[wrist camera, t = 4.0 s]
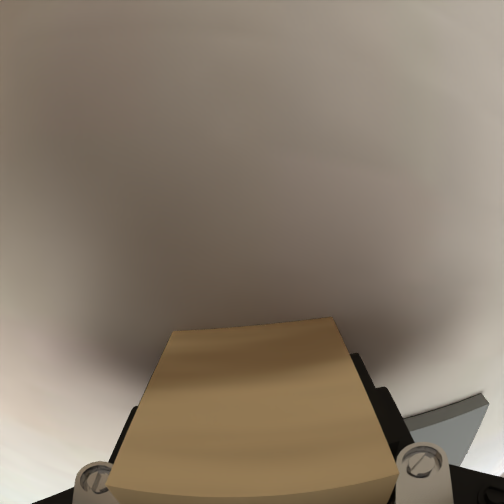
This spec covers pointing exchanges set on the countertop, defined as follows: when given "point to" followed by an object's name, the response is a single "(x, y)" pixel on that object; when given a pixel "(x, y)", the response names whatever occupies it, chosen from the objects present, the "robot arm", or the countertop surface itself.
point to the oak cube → (255, 423)
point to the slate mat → (450, 427)
